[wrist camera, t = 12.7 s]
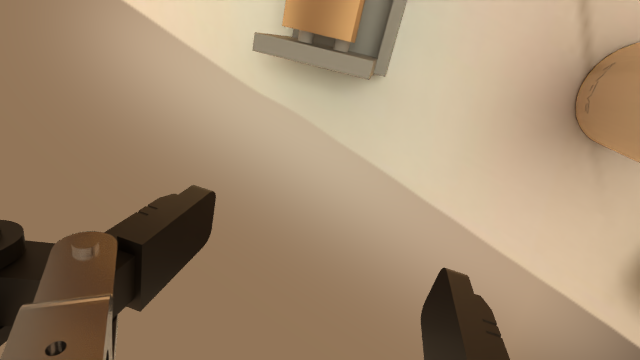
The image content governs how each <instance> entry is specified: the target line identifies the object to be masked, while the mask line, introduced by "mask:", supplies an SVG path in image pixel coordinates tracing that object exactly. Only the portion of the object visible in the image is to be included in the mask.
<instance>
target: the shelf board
mask: <svg viewBox="0 0 640 360" xmlns="http://www.w3.org/2000/svg"><path fill="white" fill-rule="evenodd" d="M364 3H365V0H286V5H285V11H284V18H283V24H282V26H286V27H290V28H294V29H298V30H302V31H307V32H311V33H315V34H319V35H323V36H327V37H332V38H336V39H340V40H344V41H348V42H353V43H355V40H356V36H357V32H358V28H359V24H360V20H361V15H362V11H363V7H364Z"/></svg>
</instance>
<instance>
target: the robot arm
mask: <svg viewBox="0 0 640 360" xmlns="http://www.w3.org/2000/svg"><path fill="white" fill-rule="evenodd" d="M576 117H577V120H578V123H579V126H580V127H581V129H582V130H583V132H584V133H585V134H586V135H587V136H588V137H589V138H590V139H592V140H593V141H595V142H597V143H599V144H601V145H603V146H605V147H607V148H610V149H612V150H614V151H616V152H618V153H620V154H622V155H624V156H626V157H628V158H631V159H633V160H635V161H637V162H639V163H640V43H635V44H632V45H630V46H627V47H624V48H621V49H620V50H618V51H616V52H614V53H612V54H610V55H609V56H608V57H606V58H605V59H604V60H602V61H601V62H600V63H599V64H597V66H596V67H595V68H594V69H593V70H592V71H591V72H590V73H589V74H588V76H587V77H586V79H585V80H584V82H583V84H582V85H581V88H580V90H579V93H578V95H577V101H576ZM215 198H216V195H215V193H214V192H213V191H210V190H207V189H204V188H201V187H198V186H195V185H193V186H190V187H189V188H188V189H186V190H185V191H183V192H182V193H180V194H179V195H177V194H171V195H168V196H164V197H160V198H159V199H157V200H155V201H153V202H152V203H150V204H149V205H148V206H147V207H144V208H142V209H141V210H139V212H138V213H137V212H136V213H135V214H133V215H131V216H130V217H128V218H127V219H125V220H123V221H122V222H120V223H119V224H117V225H115V226H114V227H112V228H111V229H109V230H108V231H106V232H97V231H87V232H79V233H75V234H72V235H69V236H66V237H64V238H62V239H61V240H59V241H58V242H57V243H55V244H53V243H44V242H33V241H25V238H24V231H23V228H22V226H21V225H19V224H17V223H15V222H12V221H6V220H0V346H1V345H2V344H3V343H5V342H6V341H7V343H6V345H5V348H4V351H3V353H2V356H1V359H0V360H115V352H116V340H117V327H118V313H119V312H120V311H122V309H124V308H125V307H129V308H132V309H135V310H137V311H141V310H142V309H143V308H144V307H145V306H146V305H147V304H148V303H149V302H150V301H151V300H152V299H153V298H154V297H155V296H156V295H157V294H158V293H159V292H160V291H161V290H162V289H163V288H164V287H165V286H166V285H167V283H169V282H170V280H171V279H172V278H173V277H174V276H175V275H176V274H177V273H178V272H179V271H180V270H181V269H182V268H183V267H184V266H185V265H186V264H187V263H188V262H189V261H190V260H191V259H192V258H193V257H194V256H195V255H196V254H197V253H198V252H199V251H200V250H201V248H202V247H203V246H204V245H205V244H206V242H207V241H208V238H209V236H210V234H211V229H212V222H213V215H214V206H215ZM496 325H497V323H496V320H495V318H494V315H493V312H492V310H491V309H490V307H489V306H488V305H487V303H486V302H485V301H484V300H483V298H482V297H481V296H479V295H476V294H474V292H473V289H472V286H471V283H470V280H469V277H468V276H467V275H465V274H462V273H459V272H456V271H453V270H450V269H447V268H442V269H441V271H440V272H439V274H438V276H437V278H436V280H435V282H434V284H433V286H432V288H431V291H430V293H429V295H428V296H427V299H426V301H425V303H424V305H423V309H422V313H421V329H422V340H423V351H424V360H510V359H509V356H508V353H507V350H506V348H505V345H504V342H503V339H502V338H501V334H500V331H499V329H498V327H497V326H496Z"/></svg>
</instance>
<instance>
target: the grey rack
mask: <svg viewBox="0 0 640 360" xmlns="http://www.w3.org/2000/svg"><path fill="white" fill-rule="evenodd" d="M406 2H407V0H365V3H364V7H363V11H362V15H361V20H360V24H359V28H358V32H357V36H356V40H355V43H353V42H348V41H344V40H340V39H336V38H332V37H327V36H323V35H319V34H315V33H311V32H307V31H302V30H298V29H294V31H293V37H288V36H280V35H272V34H264V33H256V32H255V35H254V43H253V51H257V52H261V53H265V54H269V55H273V56H277V57H281V58H285V59H289V60H293V61H297V62H301V63H305V64H309V65H313V66H317V67H321V68H325V69H329V70H333V71H336V72H340V73H344V74H348V75H352V76H356V77H360V78H364V79H368V80H369V79H370V78H371V76H372V75H373V74H376V75H380V76H384V77H385V75H386V72H387V68H388V65H389V61H390V58H391V54H392V51H393V47H394V44H395V40H396V37H397V34H398V30H399V27H400V23H401V20H402V16H403V13H404V9H405V6H406Z"/></svg>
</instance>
